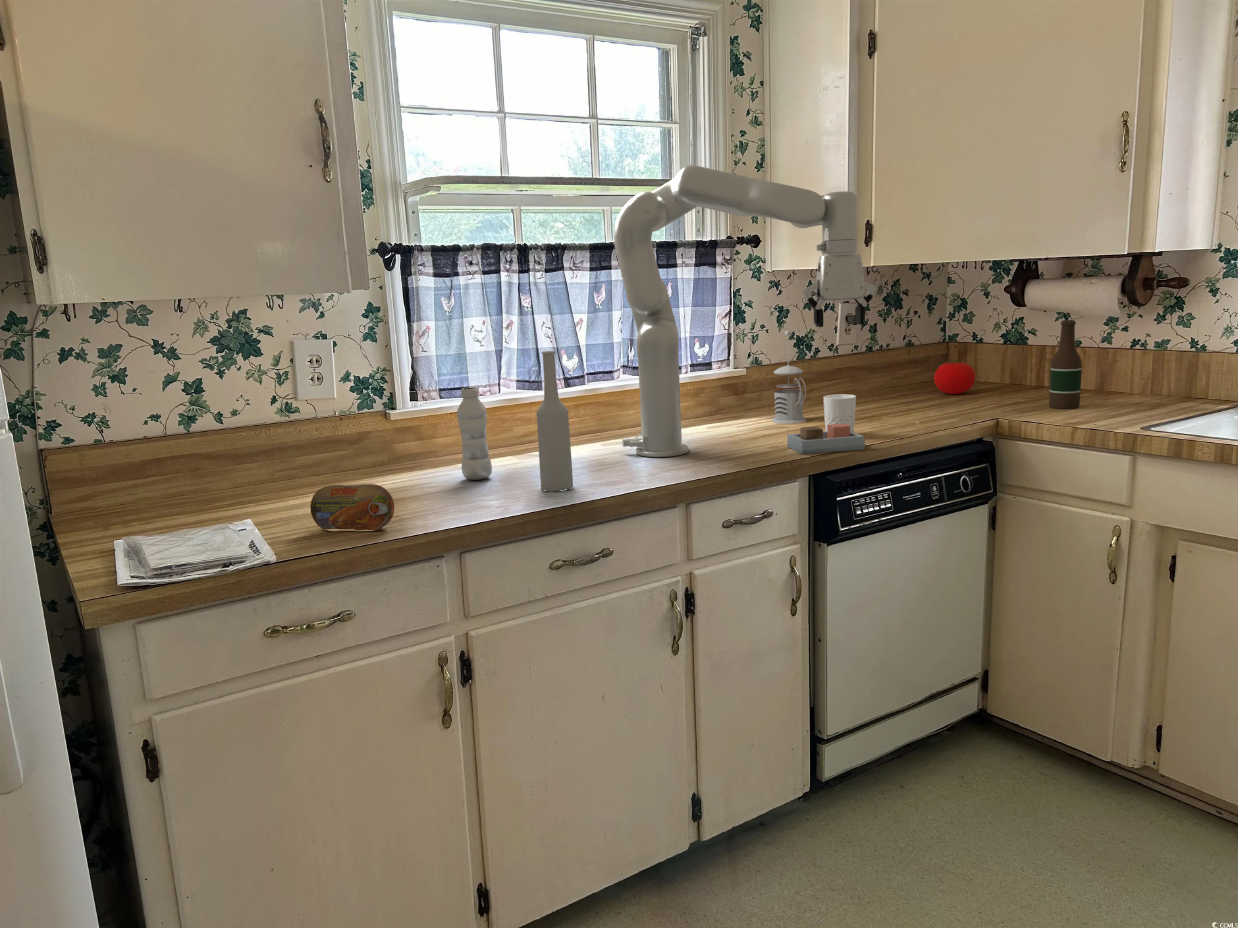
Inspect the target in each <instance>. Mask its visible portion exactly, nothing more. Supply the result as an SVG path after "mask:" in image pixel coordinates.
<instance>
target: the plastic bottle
mask: <svg viewBox="0 0 1238 928" xmlns="http://www.w3.org/2000/svg"><path fill="white" fill-rule="evenodd" d="M480 396H481V395H480V388H479V387H478V386H477V387H475V386H473V387H462V388H461V398H462V401H461V403H460V404H459V406H458V408H457V411H456V418H457V423H458V427H459V431H460V437H461V447H462V451H461V452H462V453H461V454H462V458H461V459H462V460H461V473H462V476H463V477H464V478H465V479H466V480H473V481H481V480H484V479H488V478H489V477H490V476H491V475H492V472H493V471H492V470H493V464H492V461H491V457H490V453H489V447H488V441H487V439H488V438H487V436H488V435H487V423H488V422H487V421H488V420H487V419H488V418H487V417H488V412H487V409H486V406H485V405H484V404H483V402H482V401H481V400H480V399H479V397H480Z"/></svg>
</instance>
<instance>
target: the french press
mask: <svg viewBox="0 0 1238 928" xmlns="http://www.w3.org/2000/svg"><path fill="white" fill-rule="evenodd" d="M784 335H785V336H792V331H791V330H786V331H784ZM789 350H790V349H789V341H787V365H785V366H781V367H779V368H777V369H775V370H774V371H773V374H774V375H777V376H779V375H780V376H787V384H785V383H784V384H778V385H776V386H775V388H776V389H778V390H776V391H774V400H775V401H774V418H772V419H771V423H776V424H787V425H788V424H801V423H805V422H807V419H806V418H805V417H804V402H805V400H806V397H807V388H806V387H807V386H806V383H805V381H804V379H803V378H802V377H799V378H796V377H795V378H794V379H793V384H790V376H792V375H801V374H803V372H804V370H802V369H801V368H800V367H796V366H792V365H790V362H789V361H790V359H789V355H790V351H789ZM800 381H802V382H803V386H804V391H803V390H802V385H801V384H800Z"/></svg>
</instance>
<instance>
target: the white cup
mask: <svg viewBox="0 0 1238 928" xmlns="http://www.w3.org/2000/svg"><path fill="white" fill-rule="evenodd" d="M822 401H823V412H824V413H823V414H824V416H823V417H824V426H825V431H827V425H830V424H846V425H849V426H850V431H852V432H854V431H855V422H856V409H857V407H856V403H857V396H856V395H855V394H845V393H841V394H839V393H837V394H827V395H823V400H822ZM854 433H855V432H854Z"/></svg>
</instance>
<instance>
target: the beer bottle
mask: <svg viewBox="0 0 1238 928" xmlns="http://www.w3.org/2000/svg"><path fill="white" fill-rule="evenodd" d="M1075 325H1077V323H1076V320H1074V319H1064V320H1061V322H1060V326H1061V331H1060V337H1059V338H1060V339H1059V345H1058V349H1057V351H1056V352H1055V354H1053V357H1052V358H1051V359H1052V360H1051V361H1050V367H1049V370H1050V371H1049V372H1050V373H1049V391H1048V393H1049V396H1048V405H1049V408H1051V409H1052V410H1053V409H1056V410H1076V409H1079V407H1080V402H1081V392H1082V391H1081V388H1082V387H1081V386H1082V372H1083V371H1082V369H1083V368H1082V367H1083V365H1082V362H1083V361H1082V359H1081V356H1080V354H1079V353H1078V351H1077V349H1076V338H1075V337H1076V335H1075V331H1076V330H1075V329H1076V328H1075V327H1076V326H1075Z"/></svg>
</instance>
